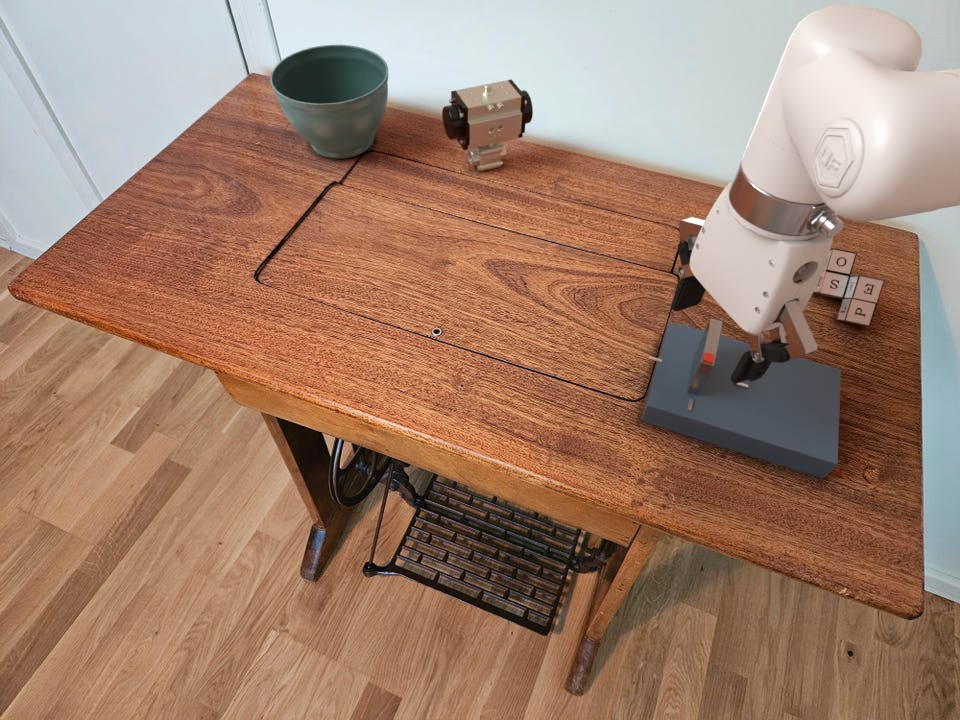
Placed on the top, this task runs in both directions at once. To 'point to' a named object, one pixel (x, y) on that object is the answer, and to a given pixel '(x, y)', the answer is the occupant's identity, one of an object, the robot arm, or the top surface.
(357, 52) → the flower pot
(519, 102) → the pneumatic valve
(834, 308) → the top surface
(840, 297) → the building blocks
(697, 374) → the lever
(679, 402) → the blue-grey rectangular block
